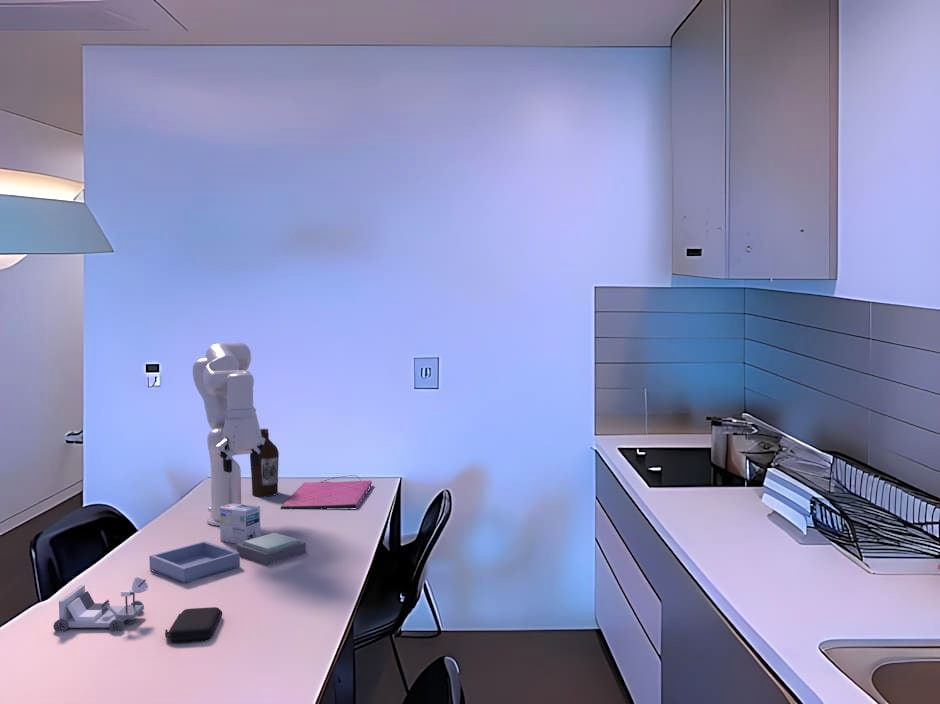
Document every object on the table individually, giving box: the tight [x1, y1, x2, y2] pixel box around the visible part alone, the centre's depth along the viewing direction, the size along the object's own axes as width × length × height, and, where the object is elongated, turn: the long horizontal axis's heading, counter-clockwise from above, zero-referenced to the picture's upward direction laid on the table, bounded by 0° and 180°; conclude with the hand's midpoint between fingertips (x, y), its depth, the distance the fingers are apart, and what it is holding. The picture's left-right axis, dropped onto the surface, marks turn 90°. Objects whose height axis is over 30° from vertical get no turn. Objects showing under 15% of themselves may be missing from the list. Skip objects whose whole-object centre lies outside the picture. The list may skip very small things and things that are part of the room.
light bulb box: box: [219, 503, 262, 545], centre depth 240 cm, size 11×7×11 cm, turn 65°
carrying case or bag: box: [164, 606, 223, 644], centre depth 175 cm, size 11×3×15 cm
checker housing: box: [235, 539, 307, 566], centre depth 228 cm, size 14×14×3 cm
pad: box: [244, 532, 299, 553], centre depth 228 cm, size 11×11×2 cm
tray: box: [148, 540, 241, 585], centre depth 215 cm, size 17×17×4 cm
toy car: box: [53, 577, 149, 633], centre depth 179 cm, size 18×10×12 cm
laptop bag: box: [280, 475, 373, 510], centre depth 297 cm, size 40×4×27 cm
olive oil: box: [249, 428, 280, 498], centre depth 299 cm, size 11×11×25 cm
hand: (241, 469), depth 239 cm, fingers open, 9 cm apart
